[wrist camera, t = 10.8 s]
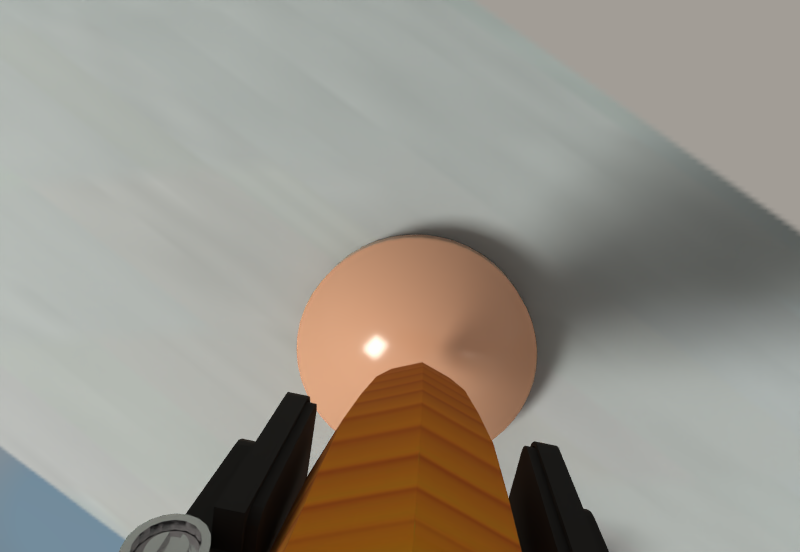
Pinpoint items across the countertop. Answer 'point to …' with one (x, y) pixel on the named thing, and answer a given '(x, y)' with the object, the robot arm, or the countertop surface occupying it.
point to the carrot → (404, 476)
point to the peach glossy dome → (418, 327)
